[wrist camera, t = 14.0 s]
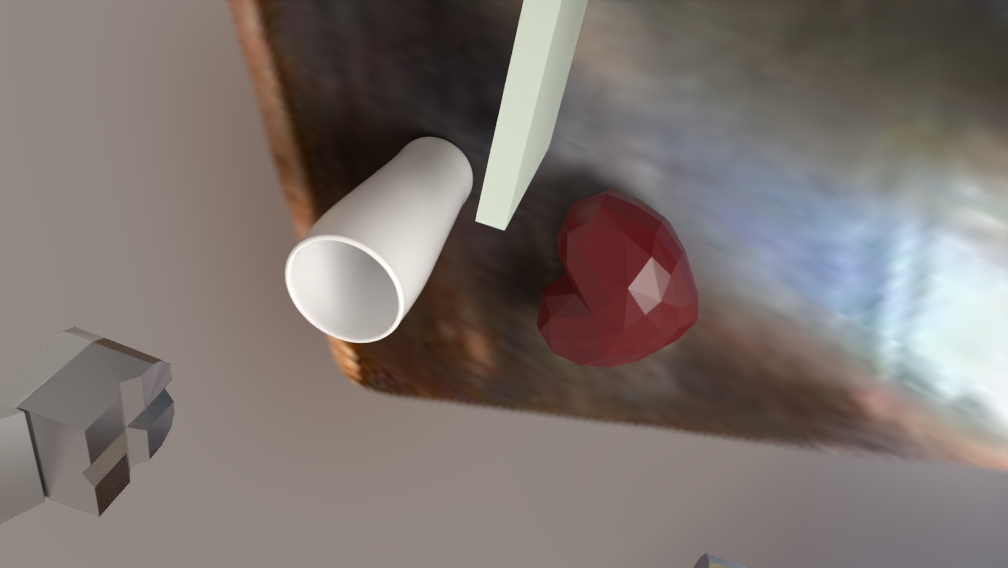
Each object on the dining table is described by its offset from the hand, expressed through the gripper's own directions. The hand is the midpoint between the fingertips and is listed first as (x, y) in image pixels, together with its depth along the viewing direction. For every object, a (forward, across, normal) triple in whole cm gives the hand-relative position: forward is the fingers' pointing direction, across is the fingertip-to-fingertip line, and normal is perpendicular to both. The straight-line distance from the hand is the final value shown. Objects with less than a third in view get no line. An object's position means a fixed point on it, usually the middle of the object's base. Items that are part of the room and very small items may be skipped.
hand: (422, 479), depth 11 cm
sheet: (+37, +4, +6) cm, 38 cm away
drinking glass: (+37, +10, +16) cm, 42 cm away
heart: (+37, -4, +18) cm, 42 cm away
